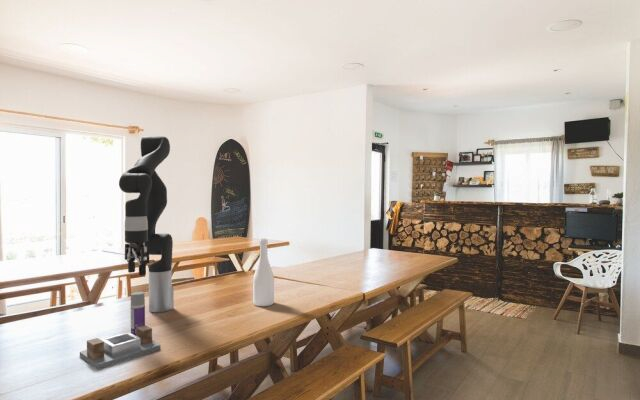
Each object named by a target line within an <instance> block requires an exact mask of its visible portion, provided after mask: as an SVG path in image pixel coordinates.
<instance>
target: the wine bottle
mask: <svg viewBox="0 0 640 400" xmlns="http://www.w3.org/2000/svg"><path fill="white" fill-rule="evenodd" d="M272 270H273V269H272V267H271V264H270V261H269V257H268V239H267V238H259V259H258V261H257V265H256V268H255V271H254V275H253V278H252V285H253V286H252V287H253V288H252V291H253V292H252V300H253V301H252V302H253V304H254V305H255V306H256V307H257V306H258V307H269V306H272V305H273V304H274V302H275V276H274V272H273V271H272Z"/></svg>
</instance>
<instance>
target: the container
mask: <svg viewBox="0 0 640 400" xmlns="http://www.w3.org/2000/svg"><path fill="white" fill-rule="evenodd" d="M145 300H146V299H145V292H144V291H134V292H132V293H130V333H131V334H133V335H135V336H136V327H140V326H144V325H146V301H145Z"/></svg>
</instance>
